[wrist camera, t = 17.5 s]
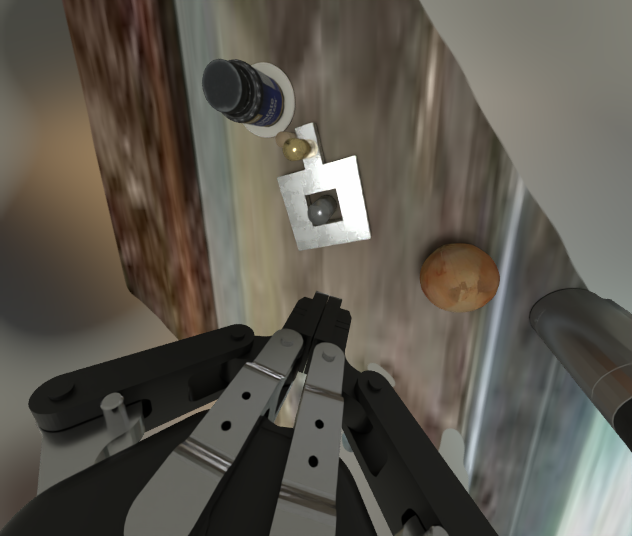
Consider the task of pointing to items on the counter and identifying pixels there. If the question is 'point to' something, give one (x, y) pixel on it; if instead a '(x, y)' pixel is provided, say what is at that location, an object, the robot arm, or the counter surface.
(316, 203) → the post
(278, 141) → the dowel
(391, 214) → the counter surface
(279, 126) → the coaster
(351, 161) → the grey plate with post
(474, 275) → the onion
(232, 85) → the pill bottle
